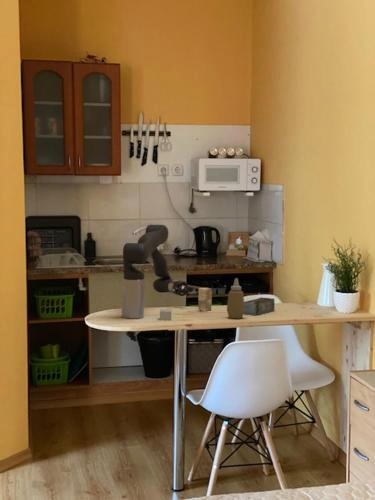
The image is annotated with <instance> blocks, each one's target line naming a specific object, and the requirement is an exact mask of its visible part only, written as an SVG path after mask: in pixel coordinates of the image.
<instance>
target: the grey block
mask: <svg viewBox="0 0 375 500" xmlns="http://www.w3.org/2000/svg"><path fill="white" fill-rule="evenodd" d="M172 312H173V311H172V309H160V310H159V320H160V321H172Z"/></svg>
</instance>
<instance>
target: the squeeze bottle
mask: <svg viewBox="0 0 375 500" xmlns="http://www.w3.org/2000/svg"><path fill="white" fill-rule="evenodd" d="M244 298H245V297H244V291H242V286H240V284H239V279H238V277H237V278H234V282H233V285H231V286H230V291H228V297H227V305H226V312H227V315H228V318H230V319H233V320H234V319H237V320H239V319H242V318H243V315H244V314H243V313H244V310H245V309H244V302H245V299H244Z"/></svg>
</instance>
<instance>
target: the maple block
mask: <svg viewBox="0 0 375 500" xmlns="http://www.w3.org/2000/svg"><path fill="white" fill-rule="evenodd" d="M212 294H213V288H210V287H202V288H199V293H198V300H197V301H198V309H197V310H201V311H211V312H212V302H213V301H212V300H213V299H212ZM201 311H200V312H201Z"/></svg>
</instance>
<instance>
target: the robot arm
mask: <svg viewBox="0 0 375 500" xmlns="http://www.w3.org/2000/svg"><path fill="white" fill-rule="evenodd" d="M168 238H169V229H168V227H167V226H166V225H164V224H148V225H147V226H146V227H145V233H144V234H142V235H141V236H140V237H139V238H138V240H137V242H126V243H125V244H124V245H123V248H122V263H123V264H122V267H123V295H122V296H121V318H124V319H142V318H144V317H145V315H144V314H145V273H144V271H141V270H138V269H137V268H136V267H134V266H133V265H134V264H135V265H143V264H145V263H147V262H148V260H149V257H150V256H151V258H152V259H151V261H152V264H153V271H154V275H155V276H156V277H157V278H156V279H155V280H154V281H153V282H152V287H153V289H154V290H155V291H156V292H158V293H163V294H164V293H171V294H173V295H175V296H176V295H177V296H180V297H183V296H186V295H189V294H195V293H197V294H199V288H203V287H202V286H198V285H189V284H188V283H187V282H186V281H184V280H179V279H173V278H172V277H171V275H170V272H169V270H168V262H167V260H166V256H164V254H163V253H162V252H161V251H160V249H158V247H160V245H163V244H164V243H165V244H166V242H167V241H168Z"/></svg>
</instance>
